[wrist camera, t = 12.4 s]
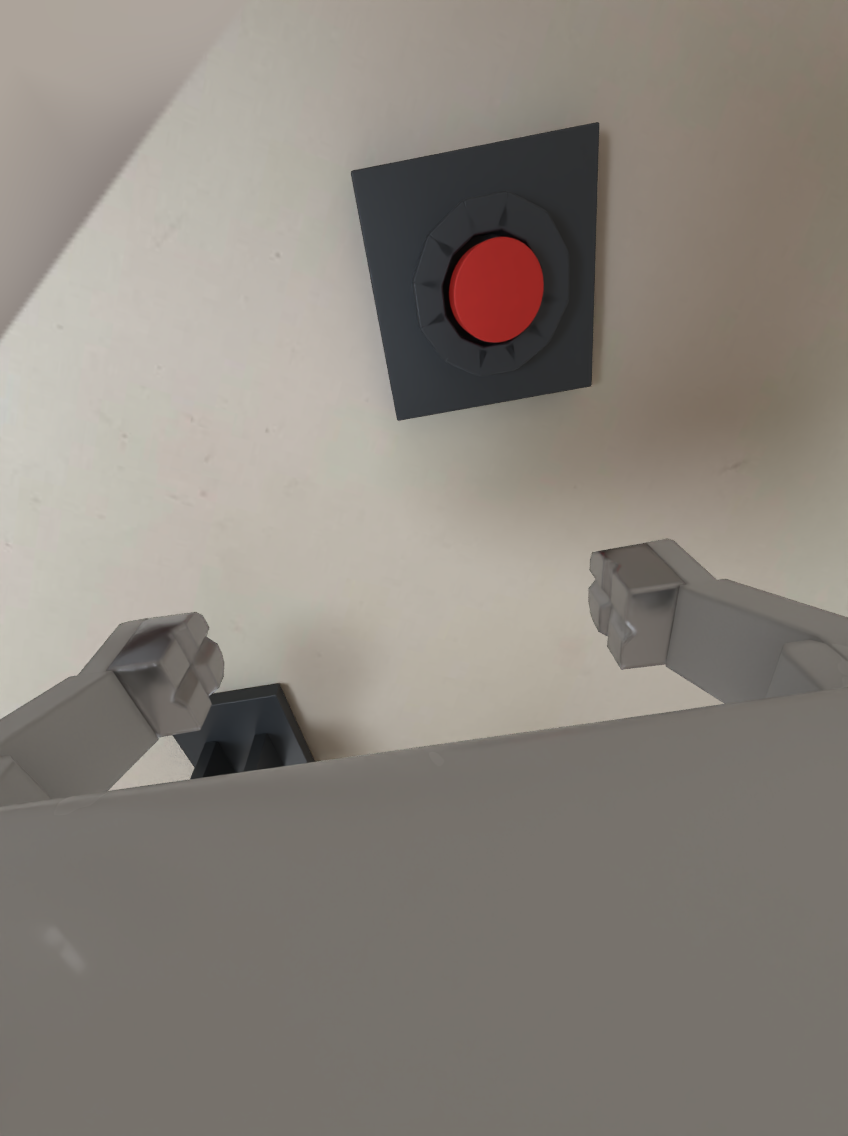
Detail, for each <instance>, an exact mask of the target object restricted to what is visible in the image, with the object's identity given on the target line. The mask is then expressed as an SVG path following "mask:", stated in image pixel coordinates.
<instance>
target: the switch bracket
mask: <svg viewBox="0 0 848 1136" xmlns="http://www.w3.org/2000/svg"><path fill="white" fill-rule="evenodd" d="M209 699H210V701H211V703H212V705H211V707H210V710H209V712H208V714H207V716H206V718H205V721H204V723H203V725H202V727H201V730H198V731H193V732H187V733H181V734H175V735H173V737H174V738H175V740H176V741H177V743H178V744H179V745H180V747H181V748H182V750H183V751H184V753H185V754H186V756H187V757H188V759H189V760H190V762H191V763H192V765H193V766H194V767H195V768H194V771H193V773H192V776H191V778H190V779H197V778H204V777H212V776H219V775H226V774H233V773H240V772H247V771H254V770H261V769H268V768H275V767H283V766H290V765H297V764H304V763H311V762H315V761H314V759H313V757H312V755H311V752H310V750H309V748H308V746H307V744H306V741H305V739H304V737H303V735H302V733H301V730H300V728H299V726H298V724H297V722H296V719H295V717H294V715H293V713H292V711H291V708H290V706H289V704H288V702H287V700H286V697H285V695H284V693H283V691H282V689H281V686H280V684H273V685H267V686H260V687H254V688H248V689H242V690H236V691H229V692H223V693H217V694H211V695H210V696H209Z"/></svg>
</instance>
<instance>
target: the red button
mask: <svg viewBox="0 0 848 1136" xmlns="http://www.w3.org/2000/svg"><path fill="white" fill-rule="evenodd" d="M543 290H544V281H543V274H542V269H541V266H540V263H539V261H538V259H537V257H536V256H535V254H534V253H533V252H532V250H531V249H530V248H529V247H528V246H526V245H525V244H524V243H522V242H521V241H519V240H516V239H514V238H510V237H494V238H491V239H488V240H486V241H483V242H481V243H479V244H477V245H475V246H473V247H472V248H470V249H469V250H468V251H467V252H466V253H465V254H464V255H463V256H462V257H461V259H460V260H459V261H458V263H457V265H456V267H455V269H454V271H453V273H452V277H451V280H450V286H449V300H450V306H451V309H452V312H453V314H454V317H455V318H456V320H457V322H458V323H459V324H460V326H461V327H462V328H463V329H464V330H465V331H467V332H468V333H470V334H471V335H473V336H474V337H476V338H478V339H480V340H483V341H486V342H494V343H497V342H503V341H507V340H510V339H512V338H514V337H516V336H518V335H519V334H520V333H522V332H523V331H524V330H525V329H526V328H527V327H528V326H529V325H530V324H531V322H532V321H533V319H534V318H535V316H536V314H537V312H538V310H539V308H540V305H541V301H542V297H543Z"/></svg>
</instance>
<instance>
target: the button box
mask: <svg viewBox="0 0 848 1136" xmlns="http://www.w3.org/2000/svg"><path fill="white" fill-rule="evenodd" d="M598 147H599V123H598V122H596V123H591V124H586V125H581V126H576V127H570V128H565V129H560V130H555V131H550V132H545V133H540V134H535V135H530V136H525V137H520V138H515V139H510V140H505V141H500V142H495V143H490V144H485V145H480V146H475V147H469V148H464V149H459V150H454V151H449V152H444V153H439V154H434V155H429V156H424V157H419V158H414V159H409V160H404V161H399V162H394V163H389V164H384V165H379V166H373V167H368V168H363V169H358V170H353V171H351V176H352V182H353V187H354V192H355V198H356V203H357V208H358V214H359V219H360V224H361V230H362V235H363V240H364V246H365V251H366V256H367V262H368V267H369V272H370V278H371V283H372V288H373V294H374V299H375V304H376V310H377V315H378V320H379V326H380V331H381V336H382V342H383V347H384V352H385V358H386V363H387V368H388V374H389V379H390V384H391V390H392V395H393V400H394V406H395V411H396V416H397V420H405V419H410V418H416V417H422V416H427V415H433V414H438V413H444V412H450V411H455V410H461V409H466V408H472V407H478V406H483V405H489V404H494V403H500V402H506V401H511V400H517V399H522V398H528V397H534V396H539V395H545V394H550V393H556V392H562V391H567V390H573V389H578V388H584V387H590V386H591V385H592V351H593V317H594V283H595V249H596V215H597V181H598ZM494 237H510V238H514V239H516V240H519V241H521V242H522V243H524V244H525V245H526V246H528V247H529V248H530V249H531V250H532V252H533V253H534V254H535V256H536V257H537V259H538V261H539V263H540V266H541V269H542V274H543V281H544V290H543V297H542V301H541V305H540V308H539V310H538V312H537V314H536V316H535V318H534V319H533V321H532V322H531V324H530V325H529V326H528V327H527V328H526V329H525V330H524V331H523V332H522V333H520V334H519V335H518V336H516V337H514V338H512V339H510V340H507V341H503V342H497V343H494V342H486V341H483V340H480V339H478V338H476V337H474V336H473V335H471V334H470V333H468V332H467V331H465V330H464V329H463V328H462V327H461V326H460V324H459V323H458V322H457V320H456V318H455V317H454V314H453V312H452V309H451V306H450V300H449V286H450V280H451V277H452V273H453V271H454V269H455V267H456V265H457V263H458V261H459V260H460V259H461V257H462V256H463V255H464V254H465V253H466V252H467V251H468V250H469V249H470V248H472V247H473V246H475V245H477V244H479V243H481V242H483V241H486V240H488V239H491V238H494Z"/></svg>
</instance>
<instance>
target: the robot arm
mask: <svg viewBox="0 0 848 1136" xmlns="http://www.w3.org/2000/svg"><path fill="white" fill-rule="evenodd" d="M589 570H590V572H591V573H592V575H593V576H594V578H595V581H594V582H593V583H592V585H591V586H590V587H589V595H588V602H589V608H590V614H591V617H592V620H593V622H594V624H595V626H596V628H597V630H598V632H600V633H602V634H604V635H606V636H608V641H607V647H608V649H609V650H610V652H611V654H612V655H613V657H614V659H615V660H616V662H617V664H618V665H619V667H620V669H630V668H638V667H647V666H655V665H664V664H666V667H668V668H669V669H671V670H673V671H674V672H676V673H677V674H679V675H680V676H682V677H684V678H685V679H687V680H688V681H690V682H691V683H693V684H695V685H696V686H698V687H699V688H701V689H702V690H704V691H706V692H707V693H709V694H710V695H712V696H713V697H715V698H717V699H718V700H720V701H721V702H723V703H725V704H721V705H714V706H707V707H700V708H693V709H686V710H679V711H673V712H666V713H659V714H652V715H645V716H637V717H630V718H623V719H616V720H609V721H602V722H594V723H587V724H580V725H573V726H566V727H559V728H551V729H544V730H537V731H530V732H523V733H516V734H509V735H501V736H494V737H487V738H480V739H473V740H466V741H458V742H451V743H444V744H437V745H430V746H423V747H416V748H409V749H402V750H395V751H388V752H381V753H374V754H367V755H360V756H353V757H346V758H339V759H332V760H325V761H318V762H311V763H304V764H297V765H290V766H283V767H275V768H268V769H261V770H254V771H247V772H240V773H233V774H226V775H219V776H212V777H204V778H197V779H190V780H183V781H176V782H169V783H162V784H155V785H147V786H140V787H133V788H126V789H119V790H112V791H108V790H109V789H110V788H111V787H112V786H113V785H114V784H115V783H116V782H117V781H118V780H119V779H120V778H121V777H122V776H123V775H124V774H125V773H126V772H127V771H128V770H129V769H130V768H131V767H132V766H133V765H134V764H135V763H136V762H137V761H138V760H139V759H140V758H141V757H142V756H143V755H144V754H145V753H146V752H147V751H148V750H149V749H150V748H151V747H152V746H153V745H154V744H155V743H156V742H157V741H158V737H164V736H169V735H175V734H181V733H187V732H193V731H198V730H201V727H202V725H203V723H204V721H205V718H206V716H207V714H208V712H209V710H210V707H211V705H212V703H211V701H210V699H209V696H210V695H211V694H212V693H213V692H214V691H216V690H217V689H218V688H219V687H220V684H221V682H222V679H223V677H224V660H223V655H222V652H221V650H220V648H219V646H218V644H217V643H215V642H214V641H212V640H211V639H209V638H208V637H207V634H208V631H209V626H208V624H207V622H206V620H205V619H204V617H203V615H201V614H199V613H197V612H191V613H184V614H176V615H169V616H161V617H154V618H149V619H148V618H145V619H139V620H133V621H127V622H124V623H121V624H119V626H118V627H117V628H116V629H115V631H114V632H113V633H112V634H111V635H110V637H109V638H108V639H107V640H106V641H105V643H104V644H103V645H102V646H101V647H100V649H99V650H98V651H97V652H96V654H95V655H94V656H93V657H92V658H91V660H90V661H89V662H88V663H87V664H86V666H85V667H84V668H83V669H82V670H81V672H80V673H79V674H78V675H77V676H71V677H68V678H67V679H65V680H63V681H62V682H60V683H59V684H57V685H55V686H54V687H52V688H51V689H49V690H47V691H46V692H44V693H42V694H41V695H39V696H38V697H36V698H34V699H33V700H31V701H29V702H28V703H26V704H25V705H23V706H21V707H20V708H18V709H16V710H15V711H13V712H12V713H10V714H8V715H7V716H5V717H3V718H2V719H0V1136H848V617H845V616H841V615H838V614H835V613H832V612H829V611H826V610H822V609H819V608H816V607H813V606H810V605H807V604H804V603H800V602H797V601H794V600H791V599H788V598H785V597H781V596H778V595H775V594H772V593H769V592H766V591H763V590H759V589H756V588H753V587H750V586H747V585H744V584H740V583H737V582H734V581H731V580H728V579H720V580H717V579H716V578H714V577H713V576H712V575H711V574H710V573H709V572H708V571H707V570H706V569H705V568H703V567H702V566H701V565H700V564H699V563H698V562H697V561H696V560H695V559H694V558H692V557H691V556H690V555H689V554H688V553H687V552H686V551H685V550H684V549H683V548H681V547H680V546H679V545H678V544H677V543H676V542H675V541H674V540H671V539H662V540H657V541H651V542H646V543H642V544H636V545H630V546H625V547H619V548H614V549H608V550H602V551H597V552H592V555H591V558H590V569H589Z"/></svg>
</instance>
